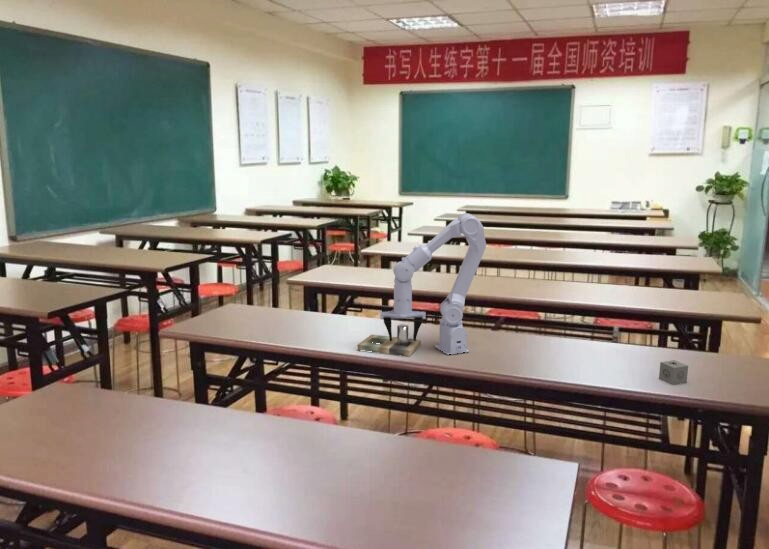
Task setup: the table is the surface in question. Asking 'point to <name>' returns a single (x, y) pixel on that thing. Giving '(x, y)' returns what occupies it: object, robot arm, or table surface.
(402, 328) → the metal cylinder
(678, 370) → the dice cube
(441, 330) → the robot arm
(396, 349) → the tool stand
